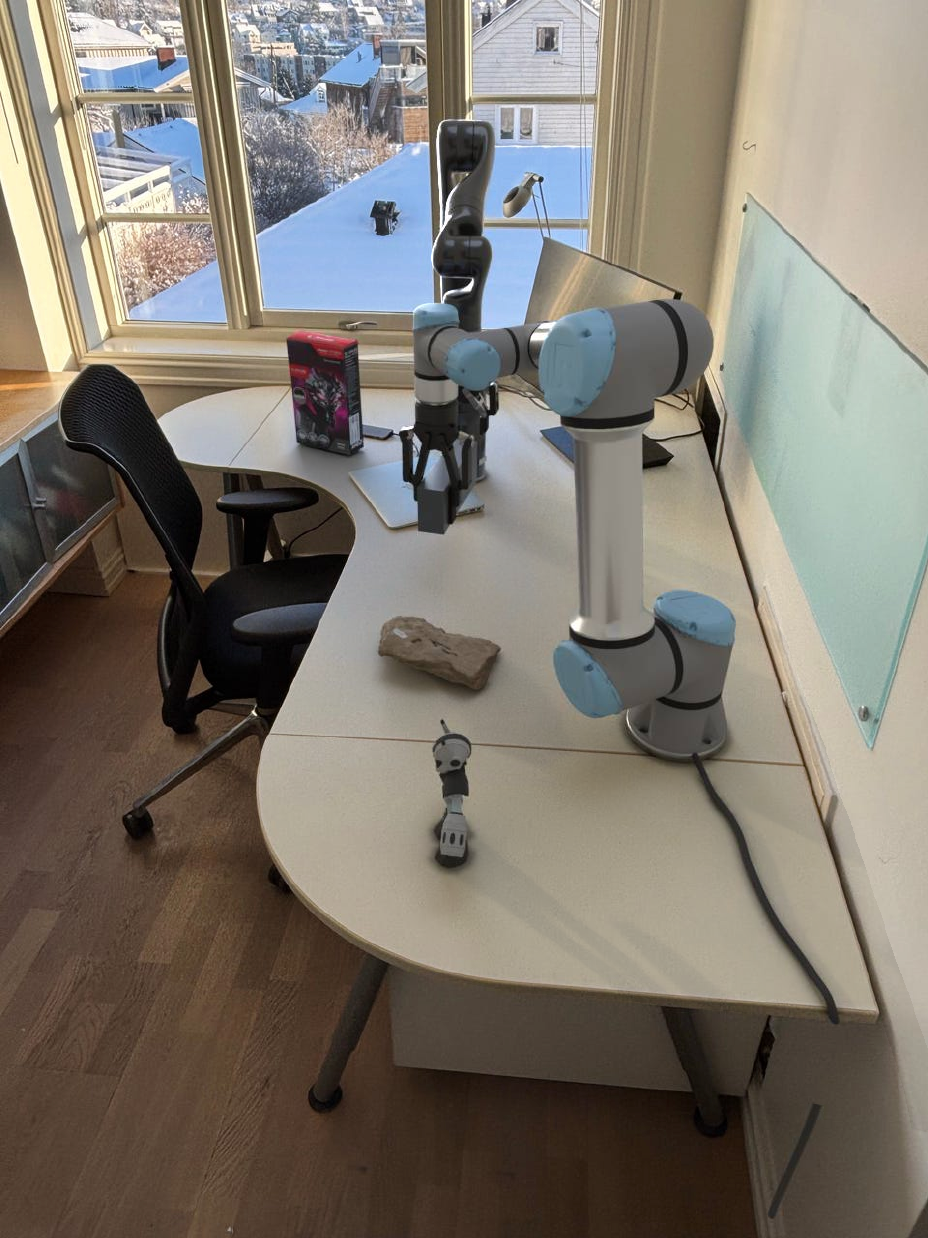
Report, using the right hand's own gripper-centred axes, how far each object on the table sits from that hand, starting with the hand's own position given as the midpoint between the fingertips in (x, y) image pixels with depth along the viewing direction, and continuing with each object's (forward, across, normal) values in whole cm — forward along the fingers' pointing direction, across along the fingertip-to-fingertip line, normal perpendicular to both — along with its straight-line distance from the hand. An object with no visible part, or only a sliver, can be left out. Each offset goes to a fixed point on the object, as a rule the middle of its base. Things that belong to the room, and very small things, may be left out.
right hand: (437, 518), depth 171 cm
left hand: (-10, 0, -18) cm, 21 cm away
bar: (+1, 0, -7) cm, 7 cm away
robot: (+14, -21, +64) cm, 68 cm away
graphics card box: (+14, +45, -55) cm, 73 cm away
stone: (+14, -7, +26) cm, 30 cm away
